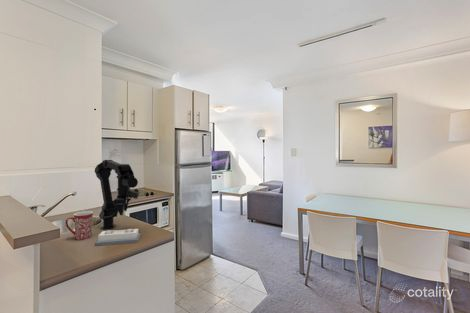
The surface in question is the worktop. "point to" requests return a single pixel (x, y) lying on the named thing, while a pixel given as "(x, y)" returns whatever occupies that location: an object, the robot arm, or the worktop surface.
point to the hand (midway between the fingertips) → (123, 213)
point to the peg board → (99, 243)
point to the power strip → (118, 235)
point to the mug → (81, 224)
